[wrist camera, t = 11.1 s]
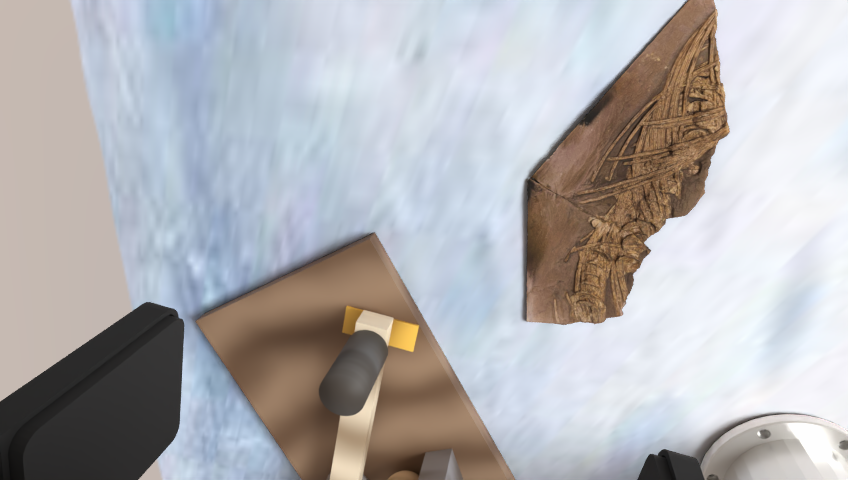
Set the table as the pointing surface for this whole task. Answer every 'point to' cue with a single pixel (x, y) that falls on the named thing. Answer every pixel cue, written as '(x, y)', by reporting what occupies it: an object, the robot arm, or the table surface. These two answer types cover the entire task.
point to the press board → (318, 349)
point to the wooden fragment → (625, 174)
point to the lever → (356, 392)
